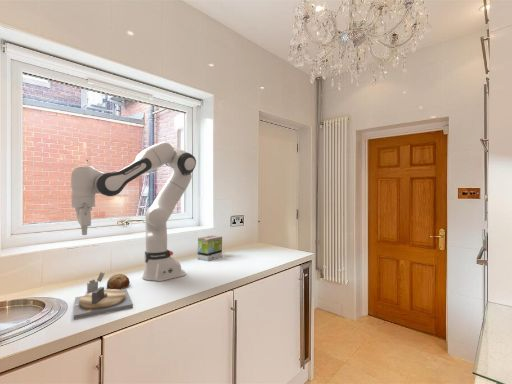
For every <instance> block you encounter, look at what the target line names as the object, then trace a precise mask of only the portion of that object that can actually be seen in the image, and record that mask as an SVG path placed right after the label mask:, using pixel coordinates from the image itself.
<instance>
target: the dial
mask: <svg viewBox="0 0 512 384" xmlns="http://www.w3.org/2000/svg"><path fill="white" fill-rule="evenodd" d="M82 296H83V297H81V298H80V300H79V306H80V307H82V308H86V309H98V308H105V307H109V306H113V305H116V304H118V303H120V302H122V301H123V300H124V299H125V298H126V292H125V291H123V289H119V290H118V289H105V286H100V287H98V289H97V290H95V291H93V292H89V293H87V294H85V295H82Z"/></svg>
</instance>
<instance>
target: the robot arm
mask: <svg viewBox="0 0 512 384" xmlns="http://www.w3.org/2000/svg"><path fill="white" fill-rule="evenodd" d="M164 165H166V166H167V167H169V168H171V169H172V172H171V173H172V174H171V175H170V177H169V178H168V179H167V180H166V182H165V184H164V186H163V187H162V188H161V189H160V191H159V193H158V195H157V196H156V198H155V199H154V201H153V202H152V204H151V206H149V207H148V208H147V209H146V211H145V251H144V263H145V265H144V270H143V275H142V279H143V280H145V281H155V282H162V281H167V280H172V279H175V278H176V279H177V278H181V277H184V276H185V275H186V271H185V270H184V269H182V265H181V263H180V262H179V261H178V260H176V259H175V258H174V257H172V256H173V255H174V252H173V251H172V250H169V249H168V232H167V229H168V228H167V222H168V221H169V218H170V217H171V215H172V213H173V211H174V210H175V208H176V206H177V204H178V202H179V201H180V200H181V198H182V196H183V195H184V193H185V192H186V190H187V188H188V187H189V184H190V183H191V180H192V176H193V175H192V173H193V171H194V170H195V168H196V165H197V160H196V157H195V156H194V155H193V154H191V153H190V152H187V151H185V150H183V149H178V148H174V147H173V146H172V145H171V144H170V143H169V142H166V141H162V142H159V143H156V144H153V145H150V146H149V147H147V148H145V149H143V150H142V151H141V152H139V153H138V154H136V157H135V160H134V161H133V162H132V163H130V164H128V165H127V166H125V167H123V168H122V169H120V170H118V171H114V172H113V171H112V172H111V171H110V172H103V171H100V170H98V169H96V168H94V167H93V166H92V165H83V166H77V167H75V168H74V169H73V170H72V171H71V177H70V187H71V189H72V190H71V191H72V192H71V196H70V197H71V198H70V199H71V208H73V209H75V210H74V211H75V212H76V218H77V219H76V220H77V223H78V224H79V225H80V230H81V235H82V236H87V235H88V227H91V226H92V214H91V212H92V211H93V208H95V207H96V194H100V195H101V196H106V197H114V196H117V195H119V194H120V193H121V192H122V191H124V190H123V189H124V188H125V187H126V186H127V184H128V183H130V182H132V181H134V180H135V179H136V178H138V177H140V176H141V175H144V174H147V173H149V172H153V171H155V170H157V169H159V168H161V167H163V166H164Z"/></svg>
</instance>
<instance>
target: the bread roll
mask: <svg viewBox="0 0 512 384" xmlns="http://www.w3.org/2000/svg"><path fill="white" fill-rule="evenodd" d="M130 283H131V282H130V279H129V277H128V276H127V275H126V274H122V273H117V274H113V275H111V276H110V277H109V279H108V280H107V283H106V290H108V289H118V290H123V289H127V288H128V287H129V285H130Z"/></svg>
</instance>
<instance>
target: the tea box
mask: <svg viewBox="0 0 512 384" xmlns="http://www.w3.org/2000/svg"><path fill="white" fill-rule="evenodd" d="M222 257H223V236H219V235H208V236H203V237H198V238H197V257H196V258H197V260H200V261H204V262H209V261H212V260H216V259H219V258H222Z"/></svg>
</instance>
